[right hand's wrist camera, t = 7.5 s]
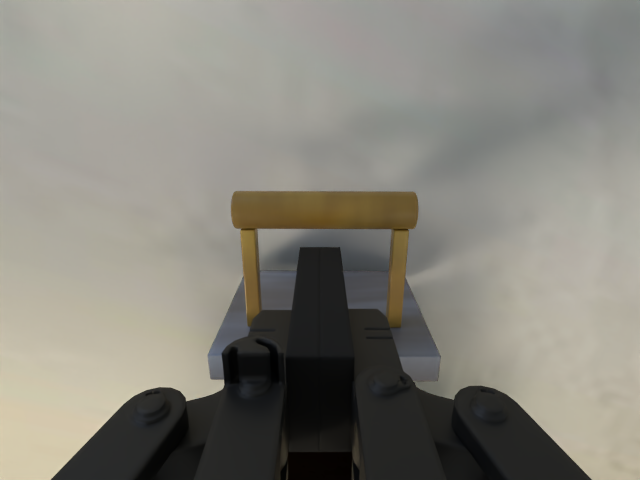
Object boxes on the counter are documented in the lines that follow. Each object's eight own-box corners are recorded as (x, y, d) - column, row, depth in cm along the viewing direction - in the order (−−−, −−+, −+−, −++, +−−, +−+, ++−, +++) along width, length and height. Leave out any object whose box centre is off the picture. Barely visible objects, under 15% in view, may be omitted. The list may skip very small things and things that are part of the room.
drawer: (238, 167, 21) (189, 206, 13) (411, 167, 21) (460, 207, 13) (263, 515, 30) (242, 655, 22) (383, 516, 30) (402, 658, 22)
